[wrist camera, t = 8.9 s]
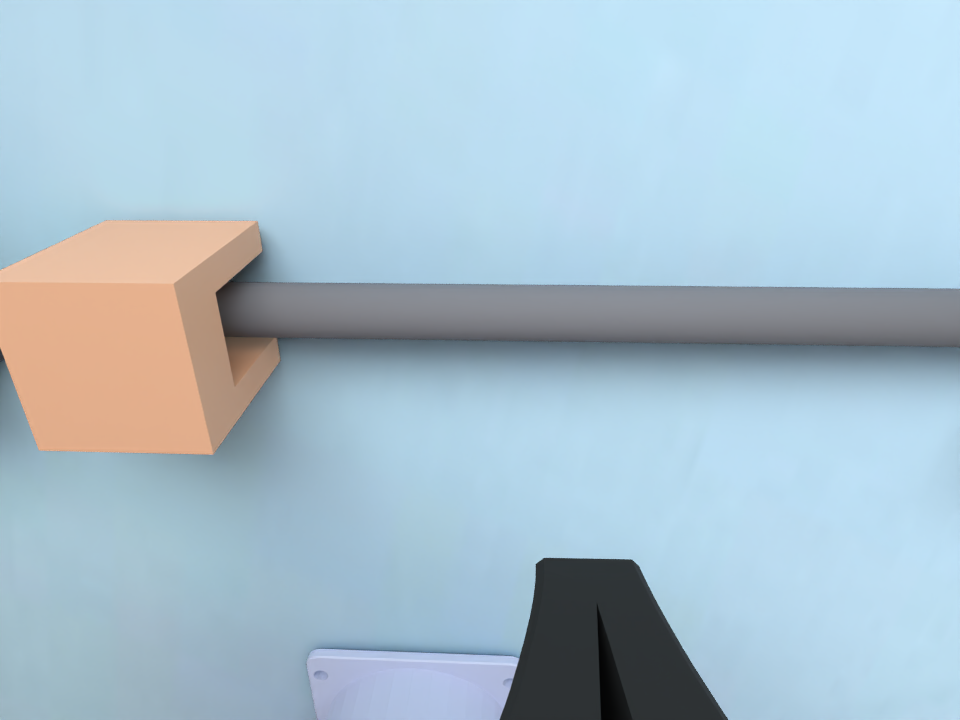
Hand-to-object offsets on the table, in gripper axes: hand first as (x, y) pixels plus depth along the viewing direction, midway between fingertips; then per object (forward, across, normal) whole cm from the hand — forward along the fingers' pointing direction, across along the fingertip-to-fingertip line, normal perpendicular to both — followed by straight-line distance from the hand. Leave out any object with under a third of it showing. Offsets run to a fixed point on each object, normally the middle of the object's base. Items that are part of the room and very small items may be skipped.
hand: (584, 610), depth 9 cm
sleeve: (+10, +10, -1) cm, 14 cm away
